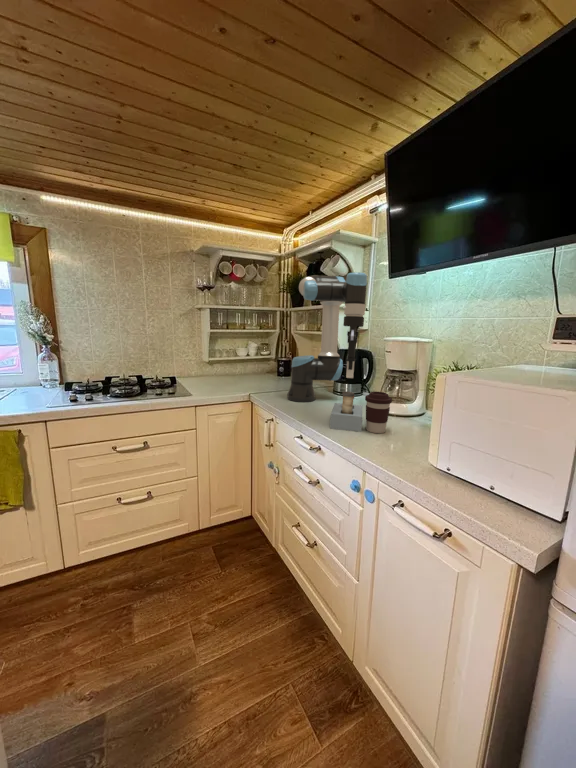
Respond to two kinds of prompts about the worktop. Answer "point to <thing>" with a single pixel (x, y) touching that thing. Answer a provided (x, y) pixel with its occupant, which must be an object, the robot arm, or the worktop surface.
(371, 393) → the coffee cup
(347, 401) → the beige cylinder
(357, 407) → the plunger block
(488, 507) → the worktop surface
